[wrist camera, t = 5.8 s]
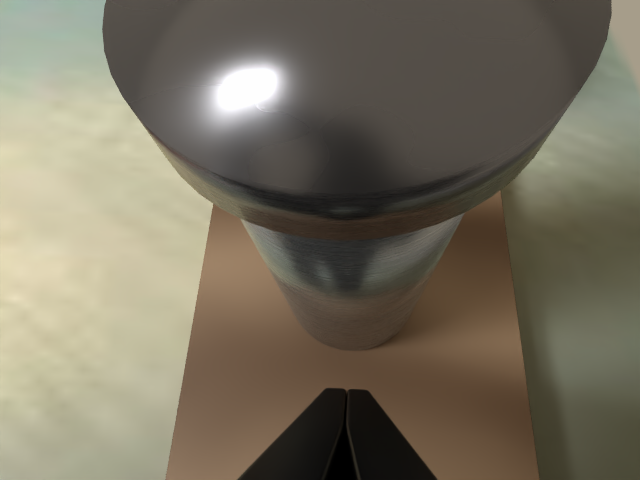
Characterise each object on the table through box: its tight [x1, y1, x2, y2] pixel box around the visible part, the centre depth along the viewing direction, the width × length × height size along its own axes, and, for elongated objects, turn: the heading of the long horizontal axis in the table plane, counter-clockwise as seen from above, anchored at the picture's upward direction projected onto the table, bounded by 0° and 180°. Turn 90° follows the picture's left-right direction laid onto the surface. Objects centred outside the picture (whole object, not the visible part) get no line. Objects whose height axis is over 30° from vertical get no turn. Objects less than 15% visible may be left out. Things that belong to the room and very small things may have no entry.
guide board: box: [165, 190, 539, 480], centre depth 16 cm, size 23×11×1 cm, turn 177°
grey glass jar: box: [102, 0, 611, 351], centre depth 9 cm, size 5×5×11 cm
